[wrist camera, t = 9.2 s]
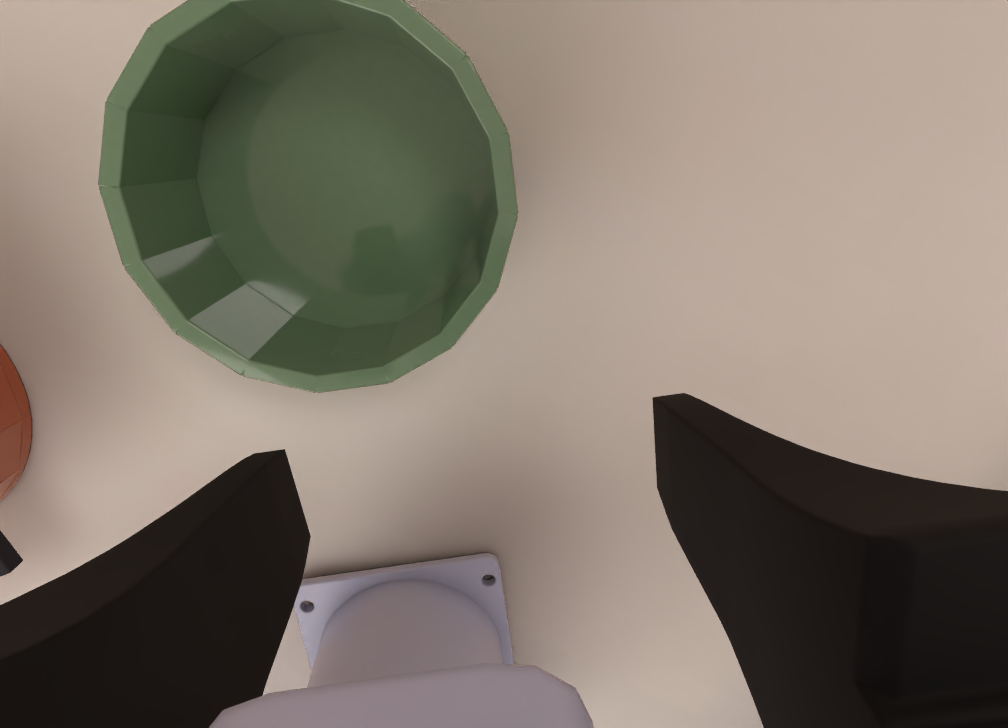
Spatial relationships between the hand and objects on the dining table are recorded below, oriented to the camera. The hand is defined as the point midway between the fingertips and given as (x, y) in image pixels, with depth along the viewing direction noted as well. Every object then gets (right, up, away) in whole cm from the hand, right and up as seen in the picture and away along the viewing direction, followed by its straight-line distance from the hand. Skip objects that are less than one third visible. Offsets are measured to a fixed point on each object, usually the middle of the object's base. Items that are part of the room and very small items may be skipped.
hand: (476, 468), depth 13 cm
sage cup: (-4, +8, +8) cm, 12 cm away
